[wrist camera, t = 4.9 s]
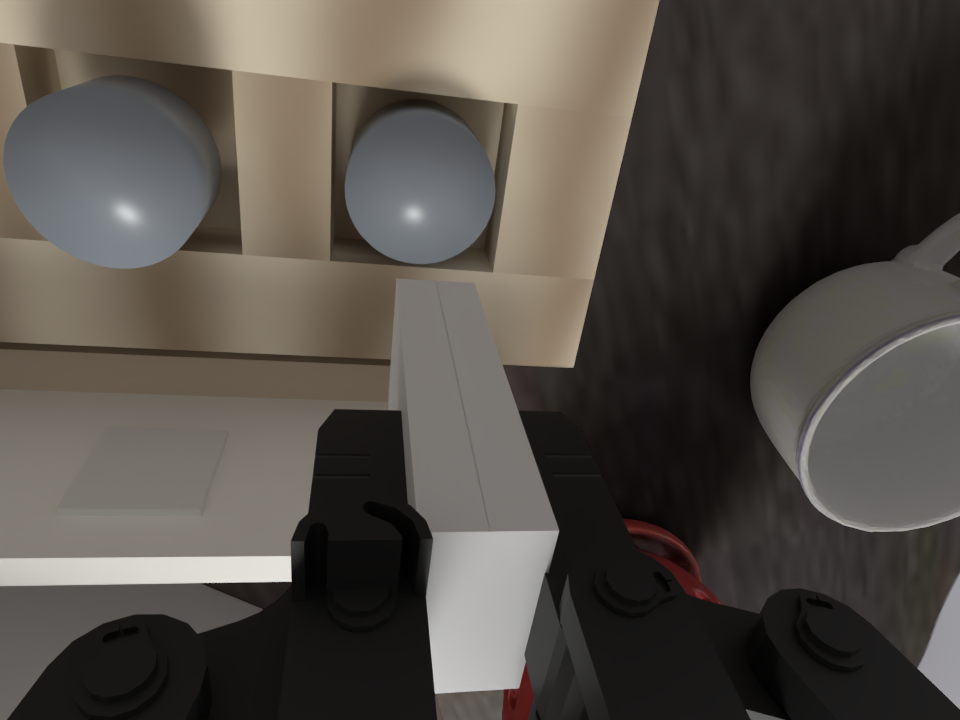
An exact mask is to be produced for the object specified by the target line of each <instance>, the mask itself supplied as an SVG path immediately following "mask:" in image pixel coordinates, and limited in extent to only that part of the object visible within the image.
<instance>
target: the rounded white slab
mask: <svg viewBox="0 0 960 720" xmlns="http://www.w3.org/2000/svg"><path fill="white" fill-rule="evenodd" d="M262 610H263V609H262V608H259V607H257V606H254V605H252V604H249V603H247V602H245V601H242V600H240V599H237V598H235V597H232V596H230V595H228V594H225V593H223V592H220V591H218V590H215V589H213V588H211V587H208V586H206V585H203V584H201V583H172V584H107V585H41V586H0V720H7V719H8V717H9V716H10V715H11V713H12V712H13V711H14V710H15V708H16V707H17V706H18V704H19V703H20V702H21V700H22V699H23V698H24V696H25V695H26V694H27V692H28V691H29V690H30V688H31V687H32V686H33V684H34V683H35V682H36V681H37V679H38V678H39V677H40V675H41V674H42V673H43V671H44V670H45V669H46V667H47V666H48V665H49V664H50V663H51V662H52V661H53V660H54V659H55V658H56V657H57V656H58V655H59V654H60V653H61V652H62V651H63V650H64V649H65V648H66V647H67V646H68V645H69V644H70V643H71V642H72V641H74V640H76V639H77V638H79V637H81V636H82V635H84V634H86V633H88V632H89V631H91V630H93V629H94V628H96V627H98V626H100V625H101V624H103V623H107V622H110V621H113V620H117V619H120V618H124V617H127V616H131V615H134V614H165V615H167V616H170V617H173V618H175V619H178V620H181V621H183V622H186V623H188V624H189V625H190V626H191V627H192V628H193V630H194V631H195V632H196V633H197V634H199V633H202V632H205V631H208V630H211V629H214V628H218V627H221V626H224V625H227V624H230V623H234V622H237V621H240V620H242V619H244V618H247V617H249V616H252V615H254V614H256V613H259V612H260V611H262ZM435 701H436V712H437V720H443V718H442V714H441V710H440V707H439V703H438V699H437V698H436V696H435Z"/></svg>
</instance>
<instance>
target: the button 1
mask: <svg viewBox="0 0 960 720" xmlns="http://www.w3.org/2000/svg"><path fill="white" fill-rule="evenodd" d="M345 199H346V205H347V209H348V212H349V215H350V217H351V219H352V222H353V224H354V225H355V227H356V229H357V230H358V232H359V233H360V234H361V236H362V237H363V238H364V239H365V240H366V241H367V242H368V243H369V244H370V245H371V246H372V247H373V248H375V249H376V250H378V251H379V252H380V253H382V254H384V255H386V256H388V257H390V258H393V259H395V260H398V261H402V262H405V263H412V264H429V263H436V262H440V261H444V260H446V259H449V258H452V257H454V256H456V255H458V254H459V253H461V252H462V251H464V250H465V249H467V248H468V247H469V246H470V245H471V244H472V243H474V242H475V240H476V239H477V238H478V237H479V236H480V235H481V233H482V232H483V230H484V229H485V227H486V225H487V223H488V221H489V219H490V217H491V214H492V211H493V207H494V202H495V179H494V173H493V170H492V167H491V163H490V161H489V159H488V157H487V155H486V153H485V151H484V149H483V148H482V146H481V144H480V143H479V141H478V139H477V137H476V136H475V134H474V133H473V131H472V130H471V128H470V127H469V125H468V124H467V123H466V122H465V121H464V120H463V119H462V118H461V117H460V116H459V115H458V114H457V113H455V112H454V111H452V110H451V109H449V108H447V107H445V106H443V105H441V104H438V103H435V102H432V101H427V100H420V99H410V100H402V101H398V102H394V103H392V104H389V105H387V106H385V107H383V108H381V109H380V110H378V111H377V112H375V113H374V114H373V115H372V116H371V117H370V118H369V119H368V120H367V121H366V122H365V123H364V124H363V125H362V127H361V128H360V129H359V131H358V133H357V135H356V137H355V139H354V142H353V144H352V147H351V152H350V156H349V162H348V167H347V172H346V178H345Z"/></svg>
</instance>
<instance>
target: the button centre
mask: <svg viewBox="0 0 960 720" xmlns="http://www.w3.org/2000/svg"><path fill="white" fill-rule="evenodd" d="M3 165H4V171H5V177H6V181H7V184H8V187H9V190H10V192H11V194H12V196H13V199H14V201H15V202H16V204H17V206H18V207H19V209H20V211H21V212H22V214H23V215H24V216H25V218H26V219H27V220H28V222H29V223H30V224H31V225H32V226H33V227H34V228H35V229H36V230H37V231H38V232H39V233H40V234H41V235H42V236H43V237H45V238H46V239H47V240H48V241H49V242H51V243H52V244H54V245H55V246H56V247H58V248H59V249H61V250H63V251H64V252H66V253H68V254H70V255H72V256H74V257H76V258H78V259H81V260H83V261H86V262H89V263H92V264H95V265H99V266H104V267H110V268H118V269H131V268H140V267H145V266H149V265H153V264H155V263H158V262H160V261H162V260H164V259H166V258H168V257H170V256H171V255H172V254H174V253H175V252H176V251H178V250H179V249H180V248H181V247H182V246H183V244H184V243H185V242H186V241H187V240H188V238H189V237H190V236H191V234H192V233H193V232H194V230H195V229H196V228H197V226H198V225H199V224H200V222H201V221H202V220H203V218H204V217H205V216H206V214H207V213H208V212H209V210H210V209H211V207H212V206H213V204H214V202H215V200H216V198H217V196H218V193H219V189H220V185H221V178H222V167H221V160H220V155H219V151H218V148H217V145H216V143H215V140H214V138H213V136H212V134H211V132H210V130H209V128H208V127H207V125H206V124H205V122H204V121H203V120H202V118H201V117H200V116H199V115H198V113H197V112H196V111H195V110H194V109H193V108H192V107H191V106H190V105H189V104H188V103H187V102H186V101H184V100H183V99H182V98H180V97H179V96H178V95H176V94H175V93H174V92H172V91H170V90H168V89H167V88H165V87H163V86H161V85H159V84H156V83H154V82H152V81H149V80H145V79H142V78H138V77H132V76H124V75H113V76H104V77H99V78H95V79H92V80H89V81H86V82H83V83H81V84H78V85H75V86H72V87H69V88H66V89H63V90H60V91H57V92H54V93H52V94H49V95H46V96H44V97H41V98H39V99H37V100H36V101H34V102H33V103H31V104H29V105H28V106H27V107H26V108H25V109H24V110H22V111H21V112H20V113H19V115H18V116H17V117H16V119H15V120H14V121H13V123H12V125H11V127H10V129H9V131H8V133H7V137H6V140H5V144H4V151H3Z"/></svg>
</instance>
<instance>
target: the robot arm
mask: <svg viewBox="0 0 960 720" xmlns="http://www.w3.org/2000/svg"><path fill="white" fill-rule="evenodd" d="M388 404H389V410H356V409H334V411H333V412H332V413H331V414H330V415H329V417H328V418H327V419H326V420H325V422H324V423H323V424H322V425H321V426H320V428H319V429H318V434H317V443H316V451H315V460H314V468H313V479H312V485H311V493H310V501H309V510H308V514H307V515H306V516H304V517H303V518H302V519H301V520H300V521H299V522H298V525H297V527H296V530H295V532H294V534H293V537H292V539H291V580H292V585H291V586H290V588H289V589H288V590H287V591H286V592H285V593H284V594H283V595H282V596H281V597H280V598H279V599H278V600H277V601H276V602H274V603H273V604H271V605H269V606H268V607H266V608H265V609H263V610H262V611H260V612H259V613H256V614H254V615H252V616H249V617H247V618H244V619H242V620H240V621H237V622H234V623H230V624H227V625H224V626H221V627H218V628H214V629H211V630H208V631H205V632H202V633H199V634H197V633H196V632H195V631H194V630H193V628H192V627H191V626H190V625H189V624H188V623H186V622H183V621H181V620H178V619H175V618H173V617H170V616H167V615H165V614H134V615H131V616H127V617H124V618H120V619H117V620H113V621H110V622H107V623H103V624H101V625H100V626H98V627H96V628H94V629H93V630H91V631H89V632H88V633H86V634H84V635H82V636H81V637H79V638H77V639H76V640H74V641H72V642H71V643H70V644H69V645H68V646H67V647H66V648H65V649H64V650H63V651H62V652H61V653H60V654H59V655H58V656H57V657H56V658H55V659H54V660H53V661H52V662H51V663H50V664H49V665H48V666H47V667H46V669H45V670H44V671H43V673H42V674H41V675H40V677H39V678H38V679H37V681H36V682H35V683H34V684H33V686H32V687H31V688H30V690H29V691H28V692H27V694H26V695H25V696H24V698H23V699H22V700H21V702H20V703H19V704H18V706H17V707H16V708H15V710H14V711H13V712H12V713H11V715H10V716H9V717H8V719H7V720H437V712H436V701H435V694H436V693H452V692H468V691H485V690H501V689H517V688H519V687H520V683H521V679H522V675H523V671H524V667H525V663H526V664H527V669H528V673H529V677H530V682H531V686H532V690H533V695H534V698H533V702H532V705H531V709H530V713H529V716H528V720H960V709H959V708H957V707H956V706H955V705H954V704H953V703H952V702H951V701H950V700H949V699H948V698H947V697H946V696H945V695H944V694H943V693H942V692H941V691H940V690H939V689H938V688H937V687H936V686H935V685H934V684H932V682H931V681H929V679H927V678H926V677H925V676H924V675H923V674H922V673H921V672H920V671H919V670H918V669H917V668H916V667H915V666H914V665H913V664H912V663H911V662H910V661H909V660H908V659H907V658H906V657H905V656H904V655H903V654H902V653H901V652H900V651H898V650H897V649H896V648H895V647H894V646H893V645H892V644H891V643H890V642H889V641H888V640H887V639H886V638H885V637H884V636H883V635H882V634H881V633H880V632H879V631H878V630H877V629H876V628H875V627H874V626H873V625H872V624H870V623H869V622H868V621H867V620H865V619H864V618H863V617H861V616H860V615H859V614H858V613H856V612H855V611H854V610H853V609H851V608H850V607H849V606H847V605H845V604H843V603H841V602H839V601H837V600H835V599H833V598H831V597H829V596H827V595H825V594H821V593H817V592H813V591H809V590H805V589H787V590H780V591H779V592H777V593H775V594H774V595H772V596H771V597H769V598H768V599H767V601H766V603H765V604H764V606H763V608H762V610H761V612H760V614H758V613H754V612H750V611H746V610H741V609H737V608H733V607H729V606H725V605H721V604H717V603H713V602H709V601H706V600H703V599H700V598H697V597H694V596H691V595H688V594H686V592H685V590H684V588H683V587H682V586H681V584H680V583H679V582H678V580H677V579H676V578H675V576H674V575H673V574H672V572H671V571H670V570H669V569H667V568H666V567H665V566H663V565H662V564H661V563H659V562H658V561H657V560H655V559H654V558H653V557H651V556H649V555H646V554H644V553H641V552H639V551H638V550H637V548H636V546H635V544H634V542H633V540H632V538H631V536H630V533H629V531H628V529H627V527H626V525H625V523H624V521H623V518H622V516H621V514H620V512H619V510H618V508H617V506H616V504H615V501H614V499H613V497H612V495H611V493H610V491H609V489H608V487H607V484H606V482H605V480H604V478H601V472H600V470H599V467H598V465H597V463H596V461H595V459H592V452H591V450H590V448H589V446H588V444H587V442H586V440H585V438H584V435H583V433H582V431H581V430H579V429H578V428H577V427H576V426H575V425H574V424H573V423H572V422H571V421H570V420H569V419H567V418H566V417H565V416H564V415H563V414H562V413H561V412H542V411H518V409H517V406H516V403H515V400H514V397H513V394H512V392H511V389H510V386H509V383H508V380H507V377H506V374H505V371H504V368H503V365H502V362H501V360H500V357H499V354H498V351H497V348H496V345H495V342H494V339H493V336H492V333H491V330H490V328H489V325H488V322H487V319H486V316H485V313H484V310H483V307H482V304H481V301H480V298H479V296H478V293H477V290H476V287H475V284H474V283H463V282H447V281H431V280H414V279H398V278H396V293H395V307H394V322H393V337H392V351H391V366H390V381H389V395H388Z"/></svg>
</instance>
